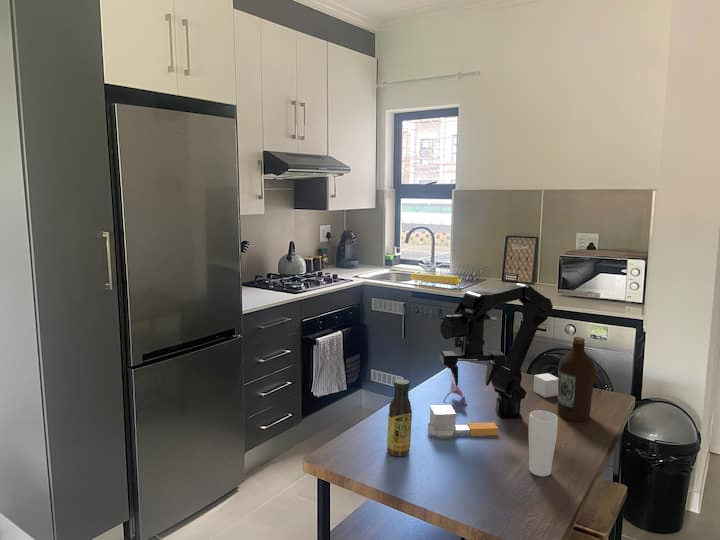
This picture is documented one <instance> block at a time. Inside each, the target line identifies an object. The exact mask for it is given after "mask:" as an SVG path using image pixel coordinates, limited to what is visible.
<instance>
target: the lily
mask: <svg viewBox="0 0 720 540" xmlns="http://www.w3.org/2000/svg"><path fill="white" fill-rule="evenodd" d="M446 372H447V373H448V375H449V376H450V381H451V382H450V383H451V384H450V391H449V392H448V394H446V396H445V398H444V399H443V401H442V402H443V403H444V402H445V401H446V400H447V398H448V396H449V395H451V393H452V394H455V395H457V396H460V397H461V398H462V399H463V400H464V402H465V403H466V405H468V403H467V401H466V399H465V397H466V396H465V395H464V394H463V391H462V390H461V387H462V385H458V386H456V385H455V382H454V379H453V377H452V375H451V374H450V373H449V372H448V370H446Z"/></svg>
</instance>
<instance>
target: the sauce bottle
mask: <svg viewBox="0 0 720 540" xmlns="http://www.w3.org/2000/svg"><path fill="white" fill-rule="evenodd" d="M393 386H394V394H393V399H391V400H390V403H389V405H388V406H389V407H388V410H389V411H388V417H387V438H386V439H387V440H386V450H387V453H388V454H389V455H390V456H393V457H394V456H395V457H405V456H407V455H408V454H409V453H410V448H411V438H412V435H411V434H412V420H413V418H412V417H413V412H412V405H411V401H410V399H409V389H410V381H409V380H407V379H403V378H399V379H398V378H397V379H395V380H394V382H393Z"/></svg>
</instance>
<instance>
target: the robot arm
mask: <svg viewBox="0 0 720 540" xmlns="http://www.w3.org/2000/svg"><path fill="white" fill-rule="evenodd" d="M514 301H519V302H520V304H522V307H521V316H522V321H521V323H520V326H519V328H518V331H517V333H516V334H515V338H514V340H513V342H512V345H511V347H510V350H509V352H508V354H507V356H506V355H505V354H504V353H503V352H502V351H501V350H488V352H487V353H486V354H485V353H484V345H485V342H486V341H485V321H487V320H491V319H492V317H491V315H489V314H488V312H490V311H492V310H493V308H494V307H496V306H498V305H503V304H507V303H509V302H510V303H511V302H514ZM552 303H553V302H552V300H551V299H550V298H549V297H546V296H545V295H543V294H542V293H540V292H539V291H537V290H536V289H535V288H534V287H533V286H531V284H527V283H522V282H518V283H515V284H513V285H509V286H505V287H501V288H497V289H494V290H493V289H492V290H489V291H481V290H479V291H478V290H476V291H475V290H470V291H466V292H465V293H464V295H463V297H462V298H461V301H460V302H459V303H458V306H457V307H456V309H455V310H454V311H453V312H454V313H453V314H452V315H451V314H447V315H445V316H444V319H443V320H442V321H441V324H440V326H439V328H440V329H439V330H440V333H441V336H442V337H443V338H444V340H452V347H453V349H458V351H459V352H461V354H457V353H455V352H454V350H442V351H441V352H440V353H439V360H440V363H441V364H442V366H445V367H447V368H448V369H450V371H451V374H452V375H451V376H452V379H453V383H454V384H455V386H457V387H459V366H458V362H482V361H484V362H486V366H487V367H486V374H485V386H489V384H490V383H491V385H492V386H493V387H492V388H493V390H494V393H497V398H496V400H495V408H494V409H495V412H497V414H498V416H499V417H500V418H502V419H515V418H517V419H519V418H520V419H521V418H523V416H522V414H521V401H522V400H524V399H525V398H526V395H527V391H526V390H525V389H524V388H523V386H522V385H521V383H522V381H523V376H522V370H521V369H522V366H523V365H524V364H523V363H524V361H525V359H526V356H527V354H528V351H529V349H530V348H531V347H530V346H531V345H532V342H533V340H534V337H535V335H536V333H537V330H538V328H539V326H540V325H541V324H543V323H544V322H545V321H546V320H547V319H548V318H549V316H550V314H551V312H552V311H553V308H554V307H553V306H554V305H553V304H552ZM461 338H462V340H461Z"/></svg>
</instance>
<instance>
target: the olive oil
mask: <svg viewBox="0 0 720 540" xmlns="http://www.w3.org/2000/svg"><path fill="white" fill-rule="evenodd" d="M585 340H586V339H585V338H584V337H581V336H574V337H573V342H572V348H571V350H570V351H569V352H567V353H566V354H565V355H563V357H562V358H560V361H559V363H558V368H557V371H558V372H557V373H558V374H557V378H558V396H557V408H556V409H557V410H556V412H557V415H558V416H559V417H561V418H562V419H565V420H568V421H571V422H586V421H588V420H589V419H590V417H591V416H590V415H591V407H592V400H593V399H592V397H593V391H594V385H595V384H594V383H595V378H596V365H595V363H594V361H593V360H592V358H591V357H590V355H588V354H587V353H586V351H585V347H586V346H585Z"/></svg>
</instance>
